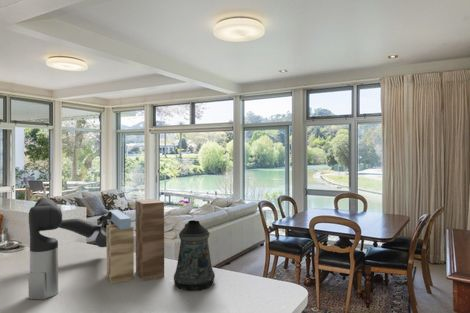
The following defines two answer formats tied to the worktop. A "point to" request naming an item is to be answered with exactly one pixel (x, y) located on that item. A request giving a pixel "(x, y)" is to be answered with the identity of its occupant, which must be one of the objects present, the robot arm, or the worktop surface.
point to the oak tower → (120, 253)
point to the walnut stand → (149, 238)
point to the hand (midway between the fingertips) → (116, 213)
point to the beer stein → (194, 259)
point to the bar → (120, 219)
